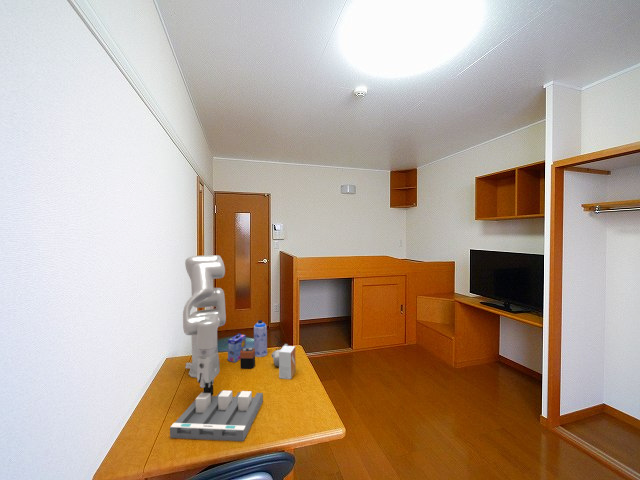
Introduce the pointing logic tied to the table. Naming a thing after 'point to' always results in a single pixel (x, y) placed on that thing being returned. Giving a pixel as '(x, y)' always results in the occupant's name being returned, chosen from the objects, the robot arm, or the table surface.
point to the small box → (287, 362)
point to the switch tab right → (244, 400)
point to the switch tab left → (203, 402)
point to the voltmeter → (277, 353)
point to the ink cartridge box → (236, 347)
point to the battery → (247, 358)
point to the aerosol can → (260, 339)
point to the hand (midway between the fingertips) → (208, 395)
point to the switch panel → (216, 421)
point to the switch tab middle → (224, 400)
